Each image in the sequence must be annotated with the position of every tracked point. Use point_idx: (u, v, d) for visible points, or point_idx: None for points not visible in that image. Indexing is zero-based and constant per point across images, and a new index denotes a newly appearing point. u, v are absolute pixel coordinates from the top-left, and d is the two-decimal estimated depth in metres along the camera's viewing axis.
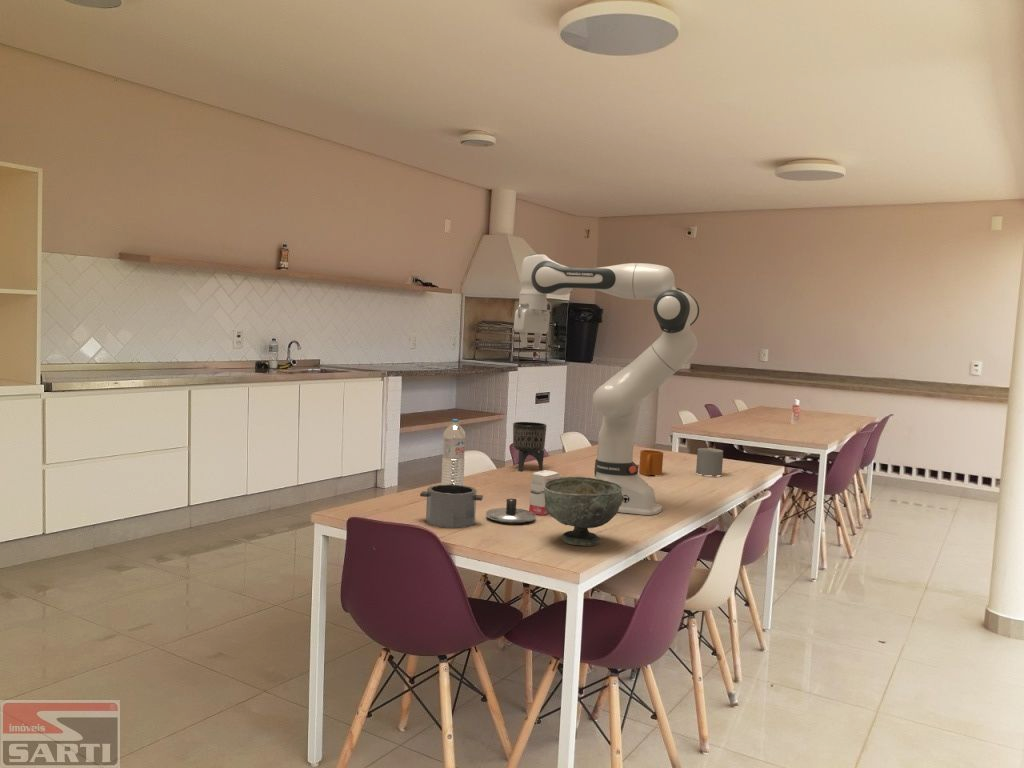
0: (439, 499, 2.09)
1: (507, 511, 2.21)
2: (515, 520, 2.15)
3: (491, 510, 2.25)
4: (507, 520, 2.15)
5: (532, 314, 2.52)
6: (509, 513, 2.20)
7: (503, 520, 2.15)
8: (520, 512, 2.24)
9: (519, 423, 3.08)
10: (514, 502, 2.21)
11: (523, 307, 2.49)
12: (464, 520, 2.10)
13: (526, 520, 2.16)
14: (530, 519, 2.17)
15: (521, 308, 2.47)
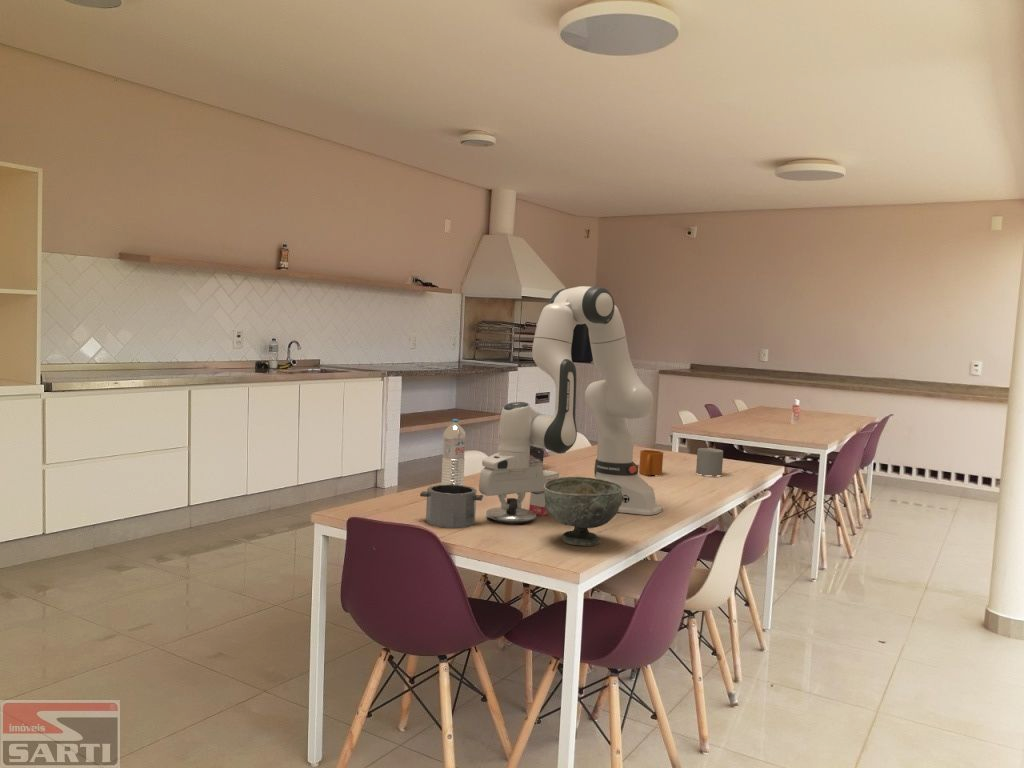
0: (439, 499, 2.09)
1: (507, 510, 2.21)
2: (518, 519, 2.15)
3: (490, 510, 2.24)
4: (510, 519, 2.15)
5: None
6: (510, 512, 2.20)
7: (506, 520, 2.15)
8: (519, 511, 2.24)
9: None
10: (515, 501, 2.21)
11: None
12: (464, 520, 2.10)
13: (528, 519, 2.17)
14: (532, 518, 2.18)
15: None
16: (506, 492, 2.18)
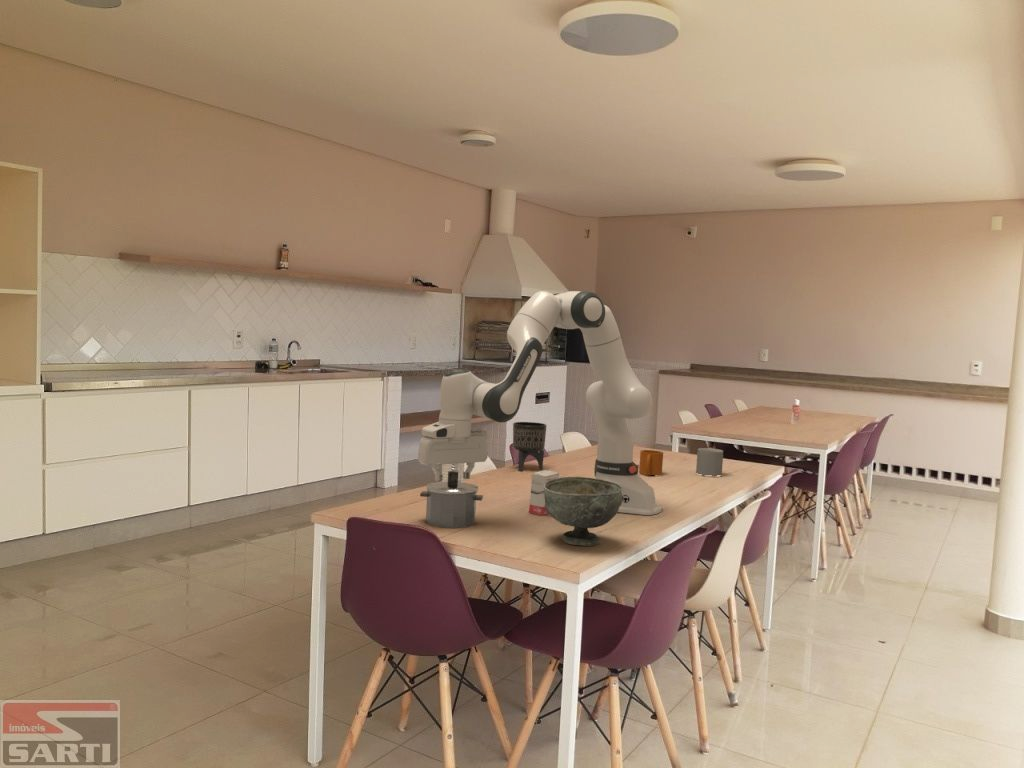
0: (439, 499, 2.09)
1: (449, 484, 2.14)
2: (458, 492, 2.08)
3: (432, 483, 2.17)
4: (450, 492, 2.08)
5: None
6: (451, 486, 2.13)
7: (445, 493, 2.08)
8: (462, 485, 2.17)
9: (519, 423, 3.08)
10: (456, 474, 2.13)
11: None
12: (464, 520, 2.10)
13: (469, 492, 2.10)
14: (473, 491, 2.11)
15: None
16: (446, 462, 2.11)
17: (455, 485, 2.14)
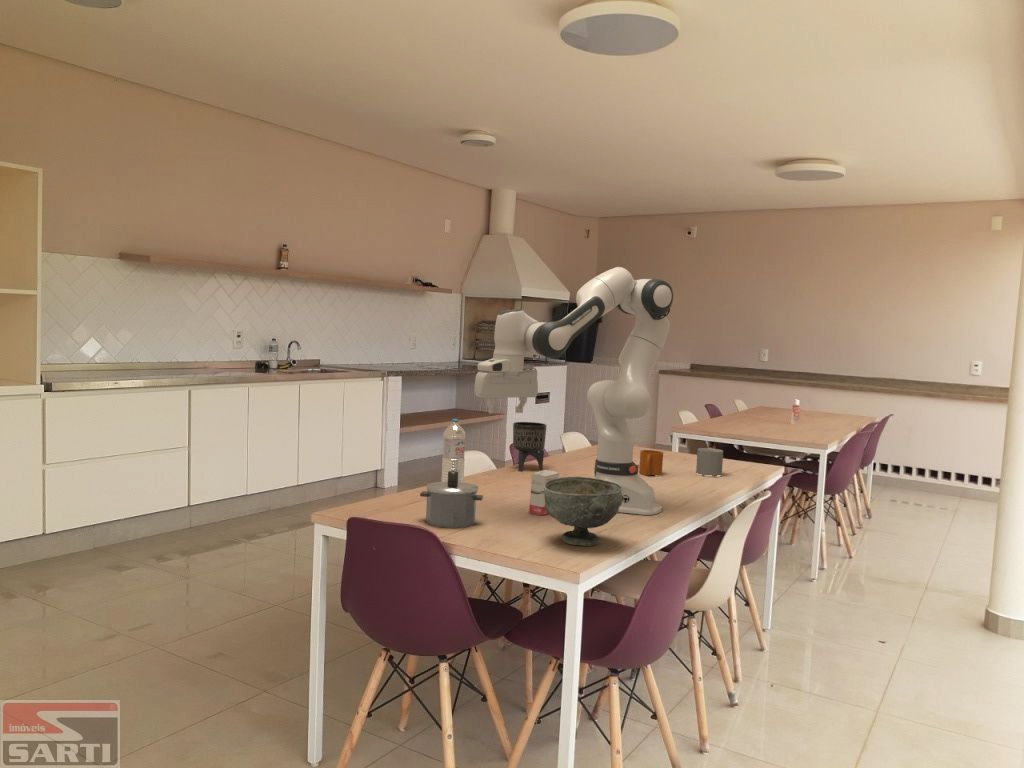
0: (439, 499, 2.09)
1: (449, 484, 2.14)
2: (458, 492, 2.08)
3: (432, 483, 2.17)
4: (450, 492, 2.08)
5: None
6: (451, 486, 2.13)
7: (445, 493, 2.08)
8: (462, 485, 2.17)
9: (519, 423, 3.08)
10: (456, 474, 2.13)
11: None
12: (464, 520, 2.10)
13: (469, 492, 2.10)
14: (473, 491, 2.11)
15: None
16: (501, 395, 2.24)
17: (455, 485, 2.14)
